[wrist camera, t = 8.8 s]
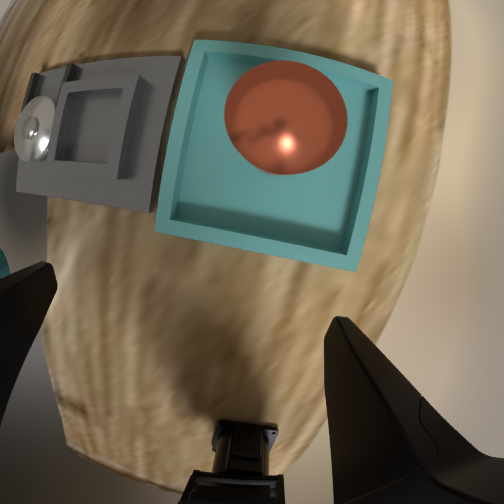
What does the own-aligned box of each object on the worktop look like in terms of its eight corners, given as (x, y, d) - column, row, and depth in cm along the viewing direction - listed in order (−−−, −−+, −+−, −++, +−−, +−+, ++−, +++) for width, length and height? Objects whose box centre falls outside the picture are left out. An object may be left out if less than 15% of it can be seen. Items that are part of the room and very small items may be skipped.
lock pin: (283, 188, 18) (302, 199, 9) (234, 154, 18) (199, 130, 8) (317, 142, 17) (368, 107, 8) (268, 108, 17) (270, 41, 7)
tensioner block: (154, 211, 20) (138, 216, 17) (22, 190, 20) (3, 193, 17) (185, 60, 17) (174, 46, 14) (43, 75, 17) (26, 69, 14)
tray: (348, 263, 20) (355, 272, 18) (164, 226, 20) (154, 231, 18) (382, 88, 16) (392, 80, 14) (200, 50, 16) (194, 39, 14)
